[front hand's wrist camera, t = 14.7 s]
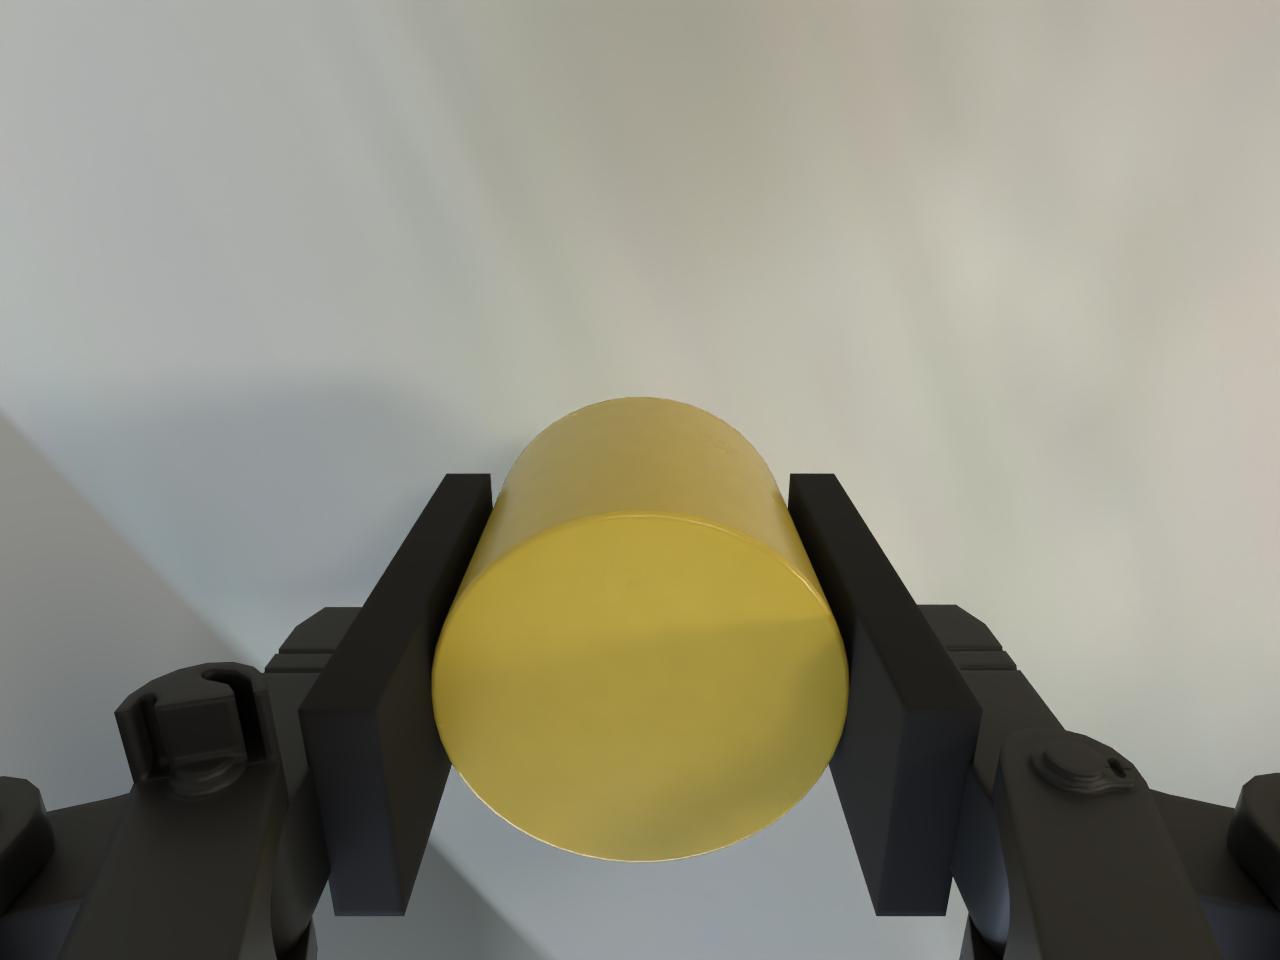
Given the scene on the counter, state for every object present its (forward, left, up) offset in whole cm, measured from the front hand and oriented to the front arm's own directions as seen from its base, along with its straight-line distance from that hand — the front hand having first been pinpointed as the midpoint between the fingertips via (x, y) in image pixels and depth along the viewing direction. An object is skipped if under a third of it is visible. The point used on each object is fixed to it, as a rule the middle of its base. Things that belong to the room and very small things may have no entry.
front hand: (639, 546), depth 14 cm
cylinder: (0, 0, 0) cm, 0 cm away
